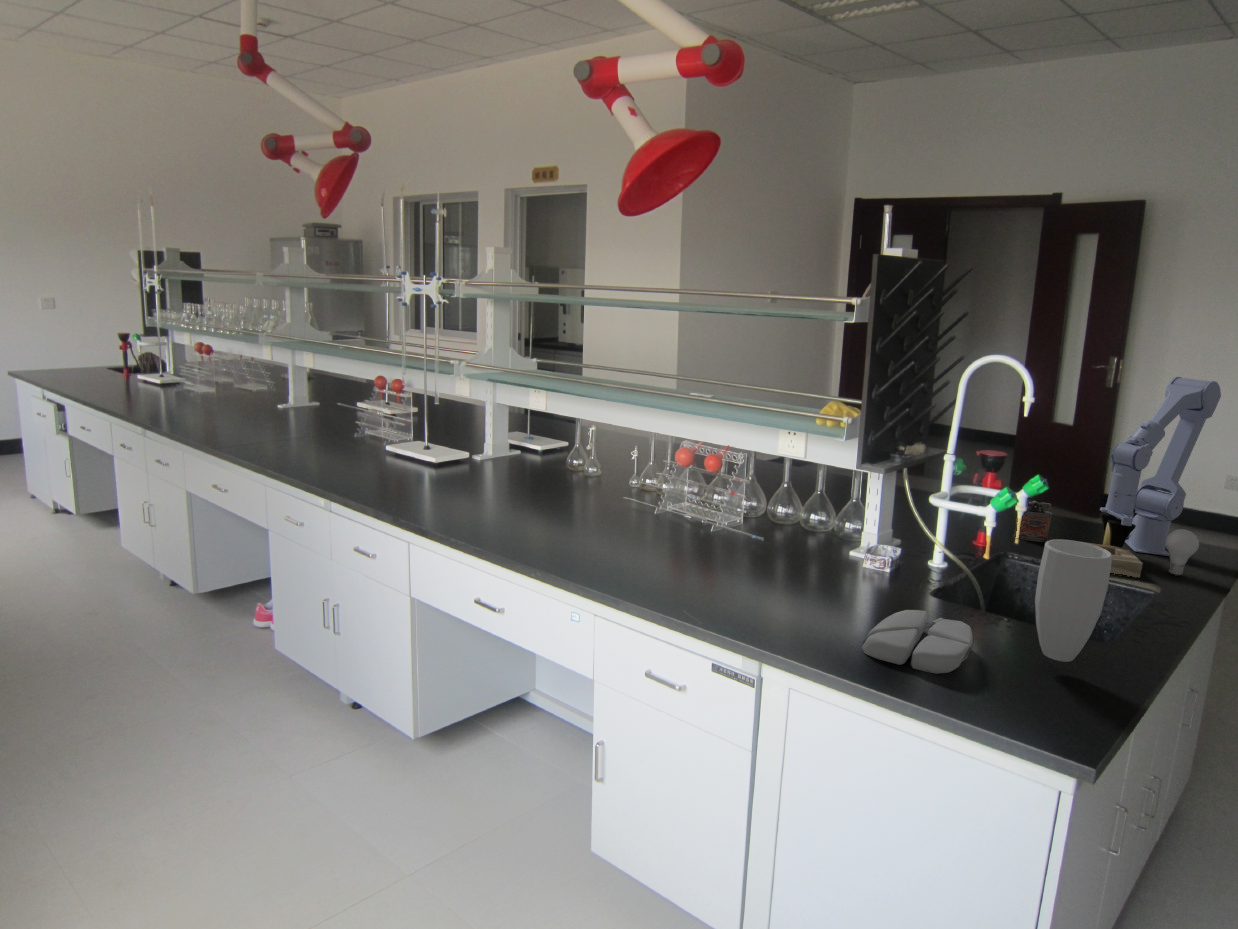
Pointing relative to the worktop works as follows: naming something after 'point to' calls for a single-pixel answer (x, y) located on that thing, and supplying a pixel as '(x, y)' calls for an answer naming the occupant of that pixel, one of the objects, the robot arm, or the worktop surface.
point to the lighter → (1035, 522)
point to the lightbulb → (1180, 549)
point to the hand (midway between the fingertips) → (1112, 546)
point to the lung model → (932, 653)
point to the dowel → (1107, 536)
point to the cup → (1070, 596)
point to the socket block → (1123, 561)
